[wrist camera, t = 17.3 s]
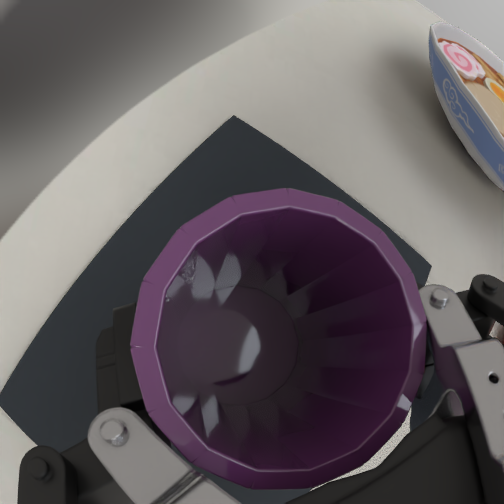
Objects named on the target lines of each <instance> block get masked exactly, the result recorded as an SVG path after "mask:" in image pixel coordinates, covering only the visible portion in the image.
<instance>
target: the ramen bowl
mask: <svg viewBox="0 0 504 504" xmlns="http://www.w3.org/2000/svg"><path fill="white" fill-rule="evenodd" d="M429 58H430V64H431V71H432V76H433V82H434V87H435V92H436V94H437V97H438V99H439V102H440V104H441V106H442V108H443V110H444V112H445V114H446V116H447V119H448V121H449V123H450V125H451V127H452V129H453V130H454V132H455V133H456V135H457V136H458V138H459V139H460V140H461V142H462V144H463V145H464V147H465V149H466V150H467V152H468V154H469V155H470V156H471V157H472V158H473V159H474V161H475V162H476V163H477V164H478V165H479V167H480V168H481V169H482V170H483V172H484V173H485V174H486V175H487V177H488V178H489V179H490V180H491V181H492V182H493V183H494V184H495V185H497V186H498V187H499V188H500V189H501V190H502V191H504V62H503V61H502V60H501V59H500V58H498V57H497V56H496V55H495V54H494V53H493V52H492V51H491V50H490V49H488V48H487V47H486V46H485V45H484V44H482V43H481V42H480V41H478V40H477V39H475V38H474V37H472V36H471V35H469V34H468V33H466V32H465V31H463V30H461V29H460V28H458V27H455V26H453V25H450V24H447V23H444V22H442V21H438V22H436V23H434V24H431V25H430V33H429Z"/></svg>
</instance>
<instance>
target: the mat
mask: <svg viewBox="0 0 504 504" xmlns="http://www.w3.org/2000/svg"><path fill="white" fill-rule="evenodd" d="M280 188H287V189H288V188H291V189H296V190H300V191H304V192H308V193H312V194H317V195H321V196H325V197H329V198H332V199H336V200H338V201H339V202H340V201H341V202H343V203H344V204H346V205H347V206H349V207H350V208H352V209H353V210H355V211H356V212H358V213H359V214H361V215H362V216H363V217H365V218H366V219H368V220H369V221H371V222H372V223H373V224H375V225H376V226H378V227H379V228H380V229H381V230H382V231H383V232H385V234H386V235H387V237H388V238H389V239H390V241H391V242H392V243H393V245H394V246H395V248H396V249H397V250H398V252H399V253H400V255H401V256H402V257H403V259H404V260H405V262H406V263H407V265H408V266H409V267H410V269H411V270H412V273H413V274H414V277H415V280H416V282H418V283H419V284H421V285H422V286H423V287H424V286H425V283H426V281H427V278H428V275H429V272H430V270H431V267H432V266H431V265H430V264H429V263H428V262H427V261H426V260H425V259H424V258H423V257H422V256H421V255H419V254H418V253H417V252H416V251H415V250H414V249H413V248H412V247H411V246H409V245H408V244H407V243H406V242H405V241H404V240H403V239H401V238H400V237H399V236H398V235H397V234H396V233H394V232H393V231H392V230H391V229H390V228H389V227H387V226H386V225H385V224H384V223H383V222H381V221H380V220H379V219H378V218H377V217H375V216H374V215H373V214H372V213H371V212H369V211H368V210H367V209H366V208H364V207H363V206H362V205H361V204H359V203H358V202H357V201H356V200H354V199H353V198H352V197H350V196H349V195H348V194H347V193H345V192H344V191H343V190H341V189H340V188H339V187H337V186H336V185H335V184H334V183H332V182H331V181H330V180H328V179H327V178H326V177H324V176H323V175H321V174H320V173H319V172H317V171H316V170H315V169H313V168H312V167H310V166H309V165H308V164H306V163H305V162H303V161H302V160H301V159H299V158H298V157H296V156H295V155H294V154H292V153H291V152H289V151H288V150H286V149H285V148H283V147H282V146H280V145H279V144H278V143H276V142H275V141H273V140H272V139H270V138H269V137H267V136H266V135H264V134H262V133H261V132H259V131H258V130H256V129H255V128H253V127H252V126H250V125H249V124H247V123H245V122H244V121H242V120H241V119H239V118H237V117H236V116H234V115H233V116H232V117H231V118H230V119H229V120H228V121H226V122H225V123H224V124H223V125H222V126H221V127H220V128H219V129H217V130H216V131H215V132H214V133H213V134H212V135H211V136H210V137H209V138H207V139H206V140H205V141H204V142H203V143H202V144H201V145H200V146H199V147H198V148H197V149H196V150H195V151H194V152H193V153H191V154H190V155H189V156H188V157H187V158H186V159H185V160H184V161H183V162H182V163H181V164H180V165H179V166H178V167H177V168H176V169H175V170H174V171H173V172H172V173H171V174H170V175H169V176H168V177H167V178H166V179H165V180H164V181H163V182H162V183H161V184H160V185H159V186H158V187H157V188H156V189H155V190H154V191H153V192H152V193H151V195H150V196H149V197H148V198H147V199H146V200H145V201H144V202H143V203H142V204H141V205H140V206H139V207H138V208H137V209H136V211H135V212H134V213H133V214H132V215H131V216H130V217H129V218H128V219H127V221H126V222H125V223H124V224H123V225H122V226H121V227H120V228H119V230H118V231H117V232H116V233H115V234H114V235H113V236H112V238H111V239H110V240H109V241H108V242H107V243H106V245H105V246H104V247H103V248H102V249H101V251H100V252H99V253H98V254H97V255H96V257H95V258H94V259H93V260H92V261H91V263H90V264H89V265H88V266H87V268H86V269H85V270H84V271H83V273H82V274H81V275H80V276H79V278H78V279H77V280H76V282H75V283H74V284H73V285H72V287H71V288H70V289H69V291H68V292H67V293H66V295H65V296H64V297H63V299H62V300H61V301H60V303H59V304H58V305H57V307H56V308H55V310H54V311H53V312H52V314H51V315H50V317H49V318H48V319H47V321H46V322H45V324H44V325H43V327H42V328H41V329H40V331H39V332H38V334H37V335H36V337H35V338H34V340H33V341H32V343H31V344H30V346H29V347H28V349H27V350H26V352H25V354H24V355H23V357H22V358H21V360H20V361H19V363H18V365H17V366H16V368H15V370H14V371H13V373H12V375H11V376H10V378H9V380H8V381H7V383H6V385H5V386H4V388H3V390H2V392H1V393H0V407H1V408H2V409H3V410H4V411H5V412H6V413H7V414H8V416H9V417H10V418H11V419H12V420H13V421H14V422H15V423H16V424H17V425H18V426H19V427H20V428H21V430H22V431H23V432H24V433H25V434H26V435H27V436H28V437H29V438H30V439H31V440H32V441H34V442H35V443H36V444H37V445H38V446H41V445H45V446H50V447H52V448H54V449H55V450H56V451H58V452H59V453H60V452H62V451H64V450H66V449H68V448H70V447H72V446H74V445H76V444H77V443H79V442H81V441H83V440H84V439H85V438H86V437H88V430H89V427H90V424H91V423H92V421H93V420H94V418H95V417H96V416H97V415H98V404H97V385H96V370H97V369H96V359H97V358H96V341H97V339H98V337H99V335H100V333H101V331H102V329H105V328H109V327H112V326H113V309H114V308H117V307H121V306H124V305H128V304H131V303H134V302H136V304H137V301H138V296H139V291H140V286H141V283H142V281H143V278H144V276H145V275H146V273H147V272H148V270H149V269H150V267H151V266H152V264H153V263H154V262H155V260H156V259H157V257H158V256H159V254H160V253H161V251H162V250H163V249H164V247H165V246H166V244H167V243H168V242H169V240H170V239H171V237H172V236H173V235H174V233H175V232H176V230H177V229H179V228H180V227H181V226H182V225H183V224H185V223H186V222H188V221H190V220H191V219H193V218H194V217H196V216H198V215H199V214H201V213H203V212H204V211H206V210H208V209H209V208H211V207H213V206H214V205H216V204H218V203H219V202H221V201H223V200H224V199H226V198H228V197H232V196H233V195H238V194H245V193H252V192H258V191H265V190H273V189H280ZM171 447H172V450H173V451H174V452H175V453H176V454H177V455H178V456H180V457H181V458H182V459H183V460H184V461H185V462H186V463H187V464H188V465H190V466H191V467H192V468H193V469H195V470H196V471H197V472H200V473H202V474H203V475H205V476H206V477H207V478H209V479H210V480H211V481H212V482H214V483H215V484H216V485H218V486H219V487H220V488H221V489H223V490H224V491H225V492H227V493H228V494H229V495H231V496H232V497H233V498H235V499H236V500H238V501H239V502H240V503H242V504H285V502H287V501H290V500H292V499H294V498H297V497H299V496H301V495H303V494H306V493H308V492H310V490H311V489H312V488H309V489H292V490H252V489H247V488H244V487H242V486H239V485H237V484H234V483H232V482H229V481H227V480H225V479H222V478H220V477H218V476H216V475H213V474H211V473H209V472H207V471H205V470H203V469H200V468H198V467H196V466H194V465H193V464H192V463H190V462H188V461H187V459H186V458H185V457H184V456H183V455H182V454H181V453H180V452H179V451H178V450H177V448H176V447H175V446H174V445H173V444H172V445H171ZM134 504H135V503H134Z"/></svg>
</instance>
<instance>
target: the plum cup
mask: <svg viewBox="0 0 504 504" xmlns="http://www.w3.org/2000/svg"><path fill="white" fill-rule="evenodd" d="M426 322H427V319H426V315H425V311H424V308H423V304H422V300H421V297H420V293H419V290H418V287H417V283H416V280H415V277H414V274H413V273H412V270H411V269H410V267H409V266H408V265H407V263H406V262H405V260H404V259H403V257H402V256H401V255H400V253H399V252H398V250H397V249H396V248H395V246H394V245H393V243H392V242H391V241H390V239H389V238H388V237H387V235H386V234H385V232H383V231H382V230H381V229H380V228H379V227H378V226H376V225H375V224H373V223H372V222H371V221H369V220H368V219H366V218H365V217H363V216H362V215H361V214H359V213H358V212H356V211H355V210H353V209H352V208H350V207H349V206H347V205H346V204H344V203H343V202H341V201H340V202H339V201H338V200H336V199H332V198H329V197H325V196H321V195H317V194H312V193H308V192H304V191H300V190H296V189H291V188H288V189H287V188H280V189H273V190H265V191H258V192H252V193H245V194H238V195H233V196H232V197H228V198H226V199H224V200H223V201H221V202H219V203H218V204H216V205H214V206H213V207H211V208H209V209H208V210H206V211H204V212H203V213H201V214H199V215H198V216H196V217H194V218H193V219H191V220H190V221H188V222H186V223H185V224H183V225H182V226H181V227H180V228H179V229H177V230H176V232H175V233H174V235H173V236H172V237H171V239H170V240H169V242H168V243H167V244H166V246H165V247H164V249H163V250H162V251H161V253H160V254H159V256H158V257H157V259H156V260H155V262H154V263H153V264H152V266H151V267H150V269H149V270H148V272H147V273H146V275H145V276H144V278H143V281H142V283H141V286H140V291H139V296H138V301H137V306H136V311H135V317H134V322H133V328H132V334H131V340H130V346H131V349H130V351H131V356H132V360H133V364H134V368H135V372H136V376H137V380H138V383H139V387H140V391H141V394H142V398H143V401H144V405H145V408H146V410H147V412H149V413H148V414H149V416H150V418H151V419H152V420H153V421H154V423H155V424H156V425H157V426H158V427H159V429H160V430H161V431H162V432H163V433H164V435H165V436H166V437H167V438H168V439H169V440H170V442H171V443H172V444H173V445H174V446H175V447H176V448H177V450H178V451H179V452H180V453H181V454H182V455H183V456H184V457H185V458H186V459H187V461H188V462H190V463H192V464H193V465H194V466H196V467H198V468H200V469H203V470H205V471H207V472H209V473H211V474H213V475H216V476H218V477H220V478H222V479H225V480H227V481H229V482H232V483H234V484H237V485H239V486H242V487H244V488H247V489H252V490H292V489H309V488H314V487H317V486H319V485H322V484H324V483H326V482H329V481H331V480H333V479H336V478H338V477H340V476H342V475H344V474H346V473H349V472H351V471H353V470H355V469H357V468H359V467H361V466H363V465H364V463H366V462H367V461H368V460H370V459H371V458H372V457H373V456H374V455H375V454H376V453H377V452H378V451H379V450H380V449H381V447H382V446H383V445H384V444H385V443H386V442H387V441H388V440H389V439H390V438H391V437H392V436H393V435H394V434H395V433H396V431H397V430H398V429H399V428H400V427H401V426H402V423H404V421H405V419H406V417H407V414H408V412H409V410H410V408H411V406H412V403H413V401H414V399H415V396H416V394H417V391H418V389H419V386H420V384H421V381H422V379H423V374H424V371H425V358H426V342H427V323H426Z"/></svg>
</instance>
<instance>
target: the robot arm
mask: <svg viewBox="0 0 504 504" xmlns="http://www.w3.org/2000/svg"><path fill="white" fill-rule="evenodd" d="M416 283H417V287H418V290H419V293H420V297H421V300H422V304H423V308H424V311H425V315H426V319H427V322H426V323H427V342H426V358H425V371H424V374H423V379H422V381H421V384H420V386H419V389H418V391H417V394H416V396H415V399H414V401H413V403H412V406H411V417H410V433H408V434H407V435H406V436H405V437H404V438H403V439H402V441H401V442H400V443H399V444H398V445H397V446H396V447H395V449H394V450H393V451H392V452H391V453H390V454H389V455H388V456H387V457H386V459H385V460H384V461H383V462H382V463H381V464H380V465H379V466H377V467H376V468H374V469H371V470H368V471H365V472H362V473H359V474H356V475H353V476H349V477H346V478H342V479H339V480H335V481H331V482H328V483H326V484H324V485H322V486H320V487H318V488H316V489H314V490H312V491H310V492H308V493H306V494H303V495H301V496H299V497H297V498H294V499H292V500H290V501H287V502H285V504H504V345H503V344H501V343H500V341H499V340H498V339H496V338H493V337H491V336H490V335H489V334H490V332H491V330H492V328H493V325H494V323H495V321H497V322H498V323H500V324H501V325H503V326H504V282H502V281H500V280H499V279H497V278H495V277H493V276H490V275H485V274H481V275H477V276H475V277H474V278H473V280H472V282H471V286H470V289H469V290H466V291H462V292H458V293H455V292H454V291H453V290H451V289H449V288H448V287H445V286H442V285H436V284H431V285H427V286H424V287H423V286H422V285H421V284H419V283H418V282H416ZM136 306H137V304H136V302H134V303H131V304H128V305H124V306H121V307H117V308H114V309H113V326H112V327H109V328H105V329H102V331H101V333H100V335H99V337H98V339H97V341H96V358H97V359H96V369H97V370H96V385H97V404H98V415H97V416H96V417H95V418H94V420H93V421H92V423H91V424H90V427H89V430H88V437H86V438H85V439H84V440H83V441H81V442H79V443H77V444H76V445H74V446H72V447H70V448H68V449H66V450H64V451H62V452H60V453H59V452H58V451H56V450H55V449H54V448H52V447H50V446H45V445H41V446H36V447H34V448H32V449H31V450H29V451H28V452H27V453H26V454H25V456H24V457H23V459H22V461H21V464H20V471H19V484H18V504H134V503H135V504H242V503H240V502H239V501H238V500H236V499H235V498H233V497H232V496H231V495H229V494H228V493H227V492H225V491H224V490H223V489H221V488H220V487H219V486H218V485H216V484H215V483H214V482H212V481H211V480H210V479H209V478H207V477H206V476H205V475H203V474H202V473H200V472H197V471H196V470H195V469H193V468H192V467H191V466H190V465H188V464H187V463H186V462H185V461H184V460H183V459H182V458H181V457H180V456H178V455H177V454H176V453H175V452H174V451H173V450H172V447H171V445H172V443H171V442H170V440H169V439H168V438H167V437H166V436H165V435H164V433H163V432H162V431H161V430H160V429H159V427H158V426H157V425H156V424H155V423H154V421H153V420H152V419H151V418H150V416H149V414H148V413H149V412H147V410H146V408H145V405H144V401H143V398H142V394H141V391H140V387H139V383H138V380H137V376H136V372H135V368H134V364H133V360H132V356H131V351H130V349H131V346H130V340H131V334H132V328H133V322H134V317H135V311H136Z"/></svg>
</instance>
